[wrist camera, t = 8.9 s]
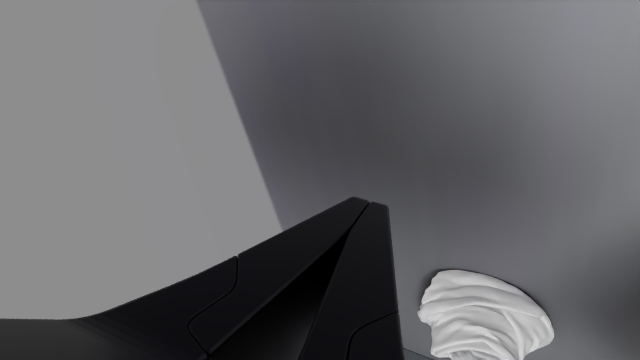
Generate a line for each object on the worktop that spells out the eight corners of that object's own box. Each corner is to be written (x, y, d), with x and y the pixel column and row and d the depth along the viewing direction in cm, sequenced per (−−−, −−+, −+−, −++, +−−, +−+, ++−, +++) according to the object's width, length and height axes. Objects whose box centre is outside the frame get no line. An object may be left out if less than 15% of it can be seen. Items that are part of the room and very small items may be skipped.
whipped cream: (559, 277, 24) (577, 339, 20) (538, 356, 27) (549, 424, 23) (423, 255, 26) (413, 305, 22) (417, 329, 29) (407, 386, 25)
